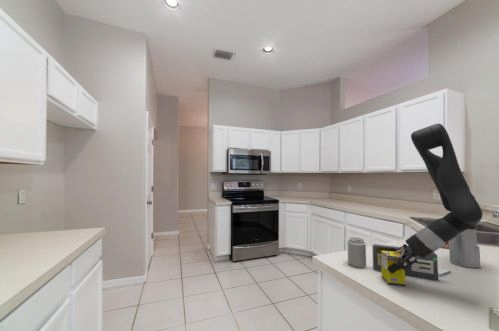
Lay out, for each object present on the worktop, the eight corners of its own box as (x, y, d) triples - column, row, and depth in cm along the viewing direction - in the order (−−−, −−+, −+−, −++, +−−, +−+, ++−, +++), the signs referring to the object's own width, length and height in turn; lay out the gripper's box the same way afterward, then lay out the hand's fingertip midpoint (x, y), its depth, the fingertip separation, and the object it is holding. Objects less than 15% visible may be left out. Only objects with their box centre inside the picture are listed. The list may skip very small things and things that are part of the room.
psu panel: (435, 277, 83) (434, 251, 84) (439, 281, 80) (437, 254, 81) (372, 267, 93) (372, 243, 93) (374, 270, 89) (373, 245, 90)
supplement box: (405, 286, 76) (404, 257, 77) (388, 285, 78) (387, 255, 78) (397, 279, 82) (396, 251, 83) (381, 277, 83) (380, 250, 84)
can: (365, 270, 90) (365, 242, 90) (347, 266, 94) (346, 239, 94) (366, 264, 96) (365, 238, 97) (348, 260, 100) (348, 235, 101)
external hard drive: (441, 278, 84) (407, 265, 96) (451, 274, 88) (417, 262, 99) (440, 274, 84) (407, 262, 96) (451, 270, 88) (417, 259, 99)
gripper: (411, 229, 83) (379, 252, 88) (419, 238, 71) (381, 265, 76) (429, 245, 80) (394, 268, 86) (440, 257, 68) (399, 283, 73)
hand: (388, 266), depth 81 cm, fingers open, 8 cm apart
